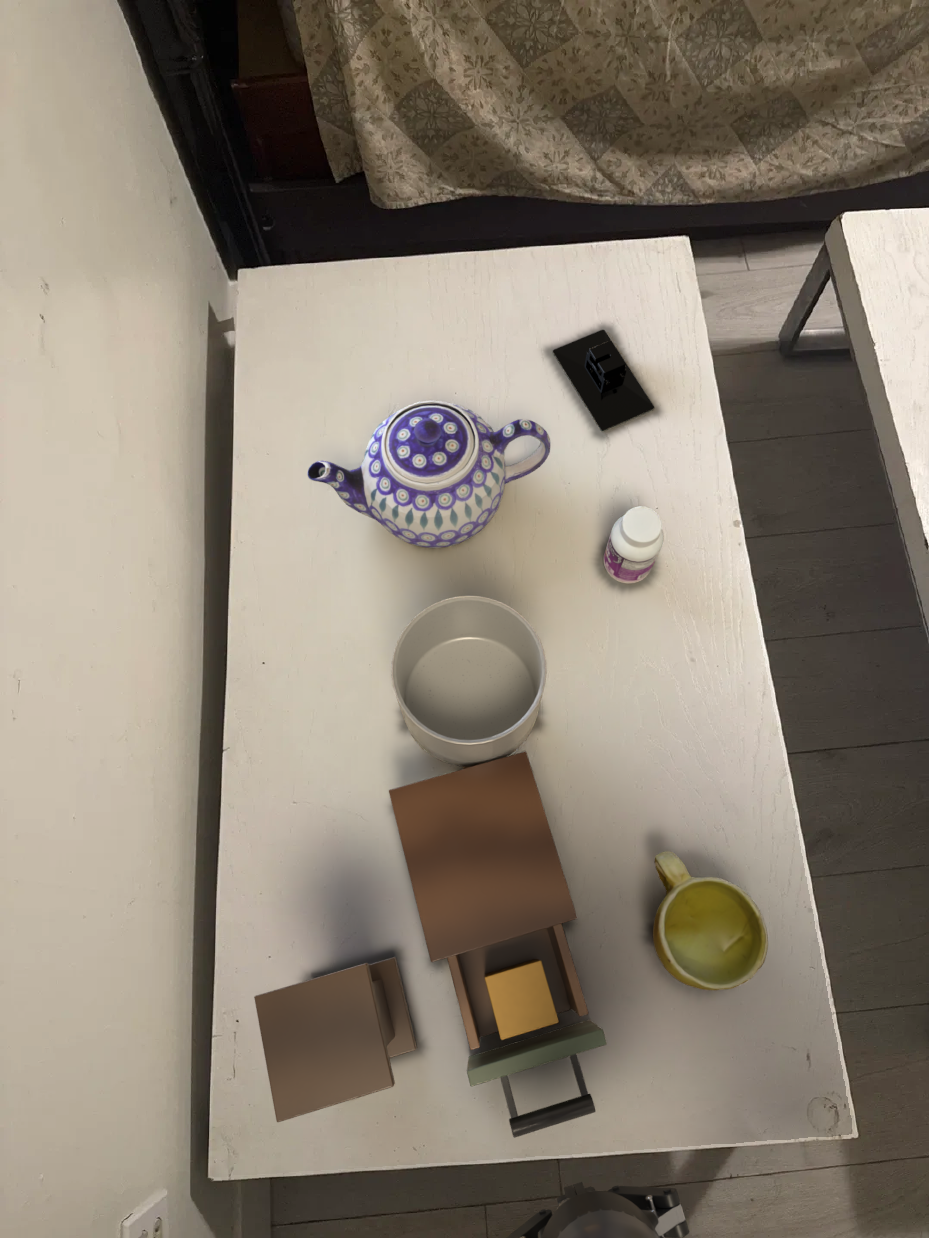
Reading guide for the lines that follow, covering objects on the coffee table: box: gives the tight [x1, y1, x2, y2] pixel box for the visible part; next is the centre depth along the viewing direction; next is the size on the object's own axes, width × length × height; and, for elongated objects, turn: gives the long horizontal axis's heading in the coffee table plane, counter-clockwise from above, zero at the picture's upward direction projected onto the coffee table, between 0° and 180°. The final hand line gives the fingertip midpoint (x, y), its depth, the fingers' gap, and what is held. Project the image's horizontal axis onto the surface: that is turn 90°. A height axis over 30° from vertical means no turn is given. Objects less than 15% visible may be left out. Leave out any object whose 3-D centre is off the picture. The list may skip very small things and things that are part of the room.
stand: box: [254, 956, 418, 1123], centre depth 70 cm, size 8×8×22 cm
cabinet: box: [388, 751, 578, 963], centre depth 79 cm, size 15×13×11 cm
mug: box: [652, 850, 769, 991], centre depth 78 cm, size 12×10×10 cm
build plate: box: [552, 329, 655, 433], centre depth 101 cm, size 12×7×5 cm, turn 25°
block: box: [485, 959, 560, 1041], centre depth 76 cm, size 5×5×6 cm
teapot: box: [307, 399, 551, 549], centre depth 91 cm, size 25×15×15 cm, turn 99°
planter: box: [390, 595, 548, 769], centre depth 81 cm, size 13×13×18 cm
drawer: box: [446, 923, 608, 1139], centre depth 75 cm, size 18×11×9 cm, turn 16°
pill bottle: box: [603, 505, 665, 584], centre depth 90 cm, size 5×5×10 cm
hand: (577, 1199), depth 64 cm, fingers closed
